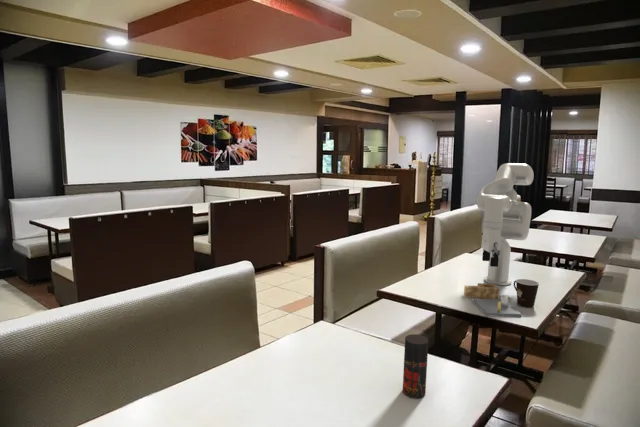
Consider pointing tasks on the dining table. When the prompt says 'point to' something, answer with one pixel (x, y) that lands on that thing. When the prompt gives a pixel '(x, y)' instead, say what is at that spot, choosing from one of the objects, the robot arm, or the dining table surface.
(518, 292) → the coffee mug
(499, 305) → the stop pin
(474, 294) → the tan wooden block
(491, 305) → the board
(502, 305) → the post
